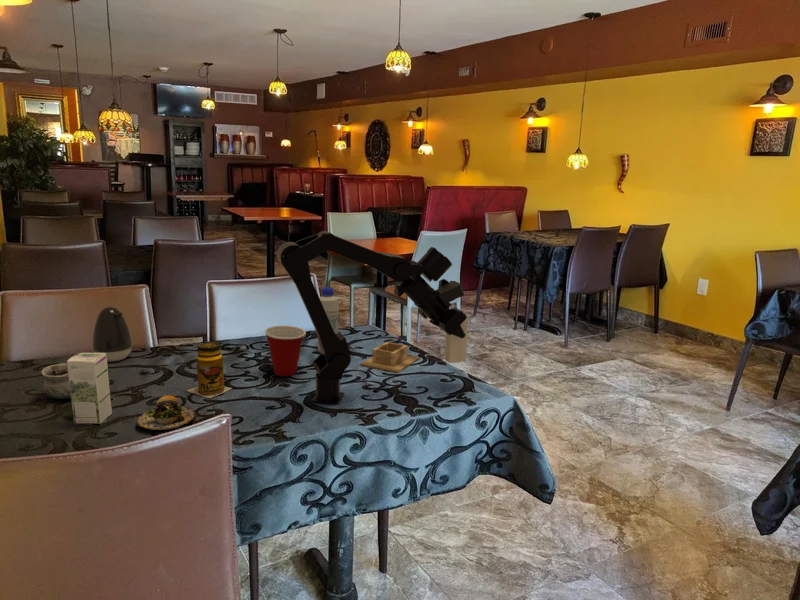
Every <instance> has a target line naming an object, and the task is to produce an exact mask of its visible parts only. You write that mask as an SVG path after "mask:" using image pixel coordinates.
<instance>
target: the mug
mask: <svg viewBox="0 0 800 600" xmlns="http://www.w3.org/2000/svg"><path fill="white" fill-rule="evenodd" d="M40 373H41V375H42V377H43V379H44V380H43V384H42V385H43V390H44V392H45V394H47V395H48V396H49V397H50V398H53V399H61V400H64V399H71V393H70V384H69V375H68V367H67V362H66V363H63V362H62V363H57V364H52V365H49V366H46V367H44V368H42V370H41V372H40Z"/></svg>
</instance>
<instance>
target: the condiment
mask: <svg viewBox="0 0 800 600" xmlns="http://www.w3.org/2000/svg"><path fill="white" fill-rule="evenodd" d="M221 352H222V349H221V344H220V343H218V342H216V341H215V342H214V341H207V342H203V343H202V342H201V343H200V344H198V345H197V356H196V372H197V376H196V377H197V385H198V386H196V387H192V388H191V389H187V390H186V392H188V393H191V394H195V395H198V396H200V397H204V398H207V399H211V398H213V397H216V396H220V395H222V394H223V393H227V392H228V391H230V390H232V389H233V388H232V387H228V386H225V381H224V380H225V377H224V358H223V354H222V353H221Z"/></svg>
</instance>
